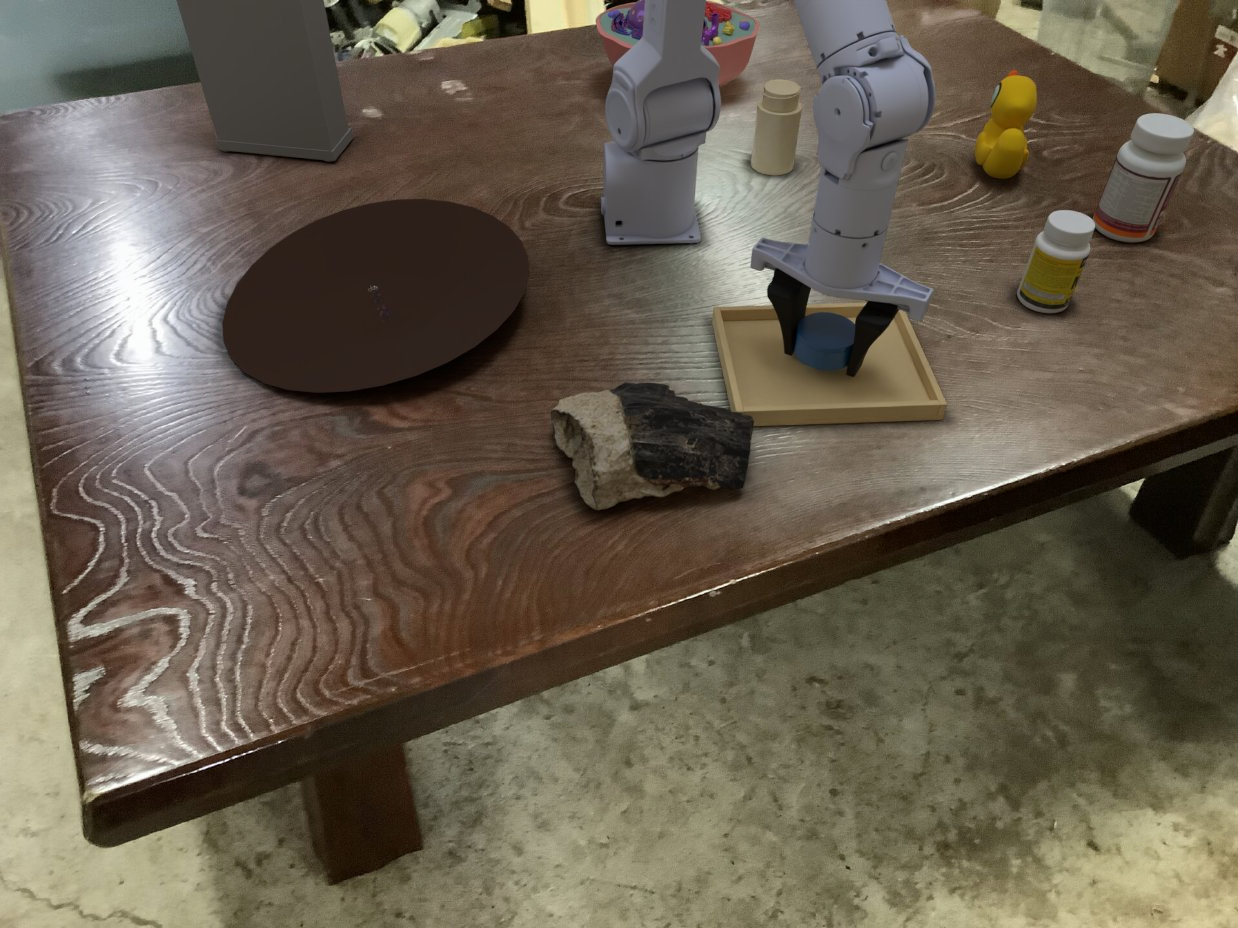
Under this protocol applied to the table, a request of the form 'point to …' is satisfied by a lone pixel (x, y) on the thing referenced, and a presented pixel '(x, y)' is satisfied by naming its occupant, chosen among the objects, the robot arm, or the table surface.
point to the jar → (776, 128)
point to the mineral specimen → (649, 443)
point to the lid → (824, 341)
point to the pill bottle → (1143, 178)
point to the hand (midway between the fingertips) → (822, 359)
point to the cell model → (721, 36)
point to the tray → (822, 373)
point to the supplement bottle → (1056, 262)
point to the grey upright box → (268, 76)
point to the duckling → (1007, 127)
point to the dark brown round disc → (374, 295)
